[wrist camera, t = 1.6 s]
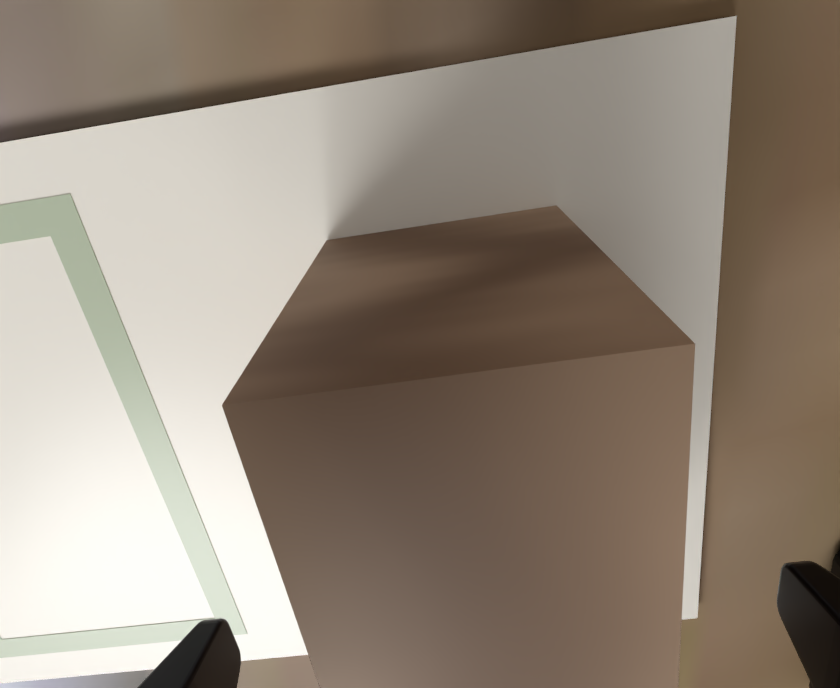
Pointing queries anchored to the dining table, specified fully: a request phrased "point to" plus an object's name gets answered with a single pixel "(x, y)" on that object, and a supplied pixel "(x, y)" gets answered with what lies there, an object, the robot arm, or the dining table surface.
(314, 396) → the walnut block
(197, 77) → the dining table surface
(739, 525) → the dining table surface
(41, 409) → the white flat sheet
